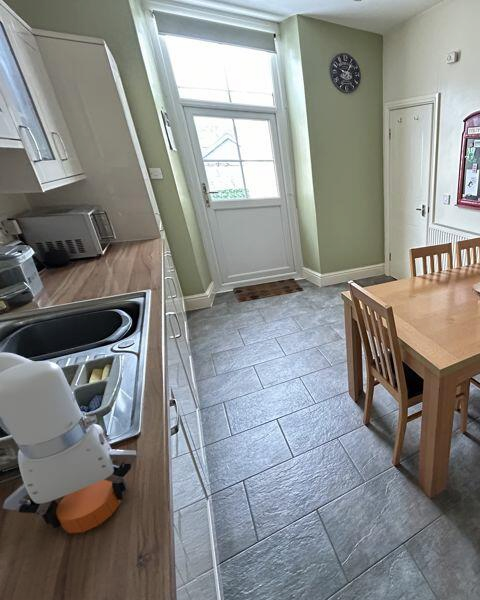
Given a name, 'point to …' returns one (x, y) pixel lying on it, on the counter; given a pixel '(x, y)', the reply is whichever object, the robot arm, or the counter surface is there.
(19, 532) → the counter surface
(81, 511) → the cap
